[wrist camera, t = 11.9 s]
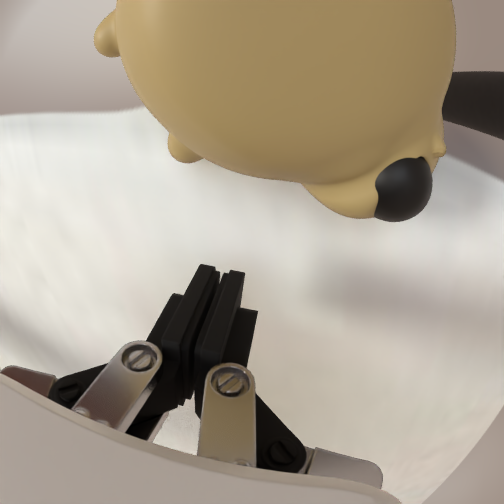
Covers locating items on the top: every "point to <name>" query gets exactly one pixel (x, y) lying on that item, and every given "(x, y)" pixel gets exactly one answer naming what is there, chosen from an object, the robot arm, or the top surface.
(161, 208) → the top surface
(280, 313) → the top surface
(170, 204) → the top surface
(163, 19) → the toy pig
